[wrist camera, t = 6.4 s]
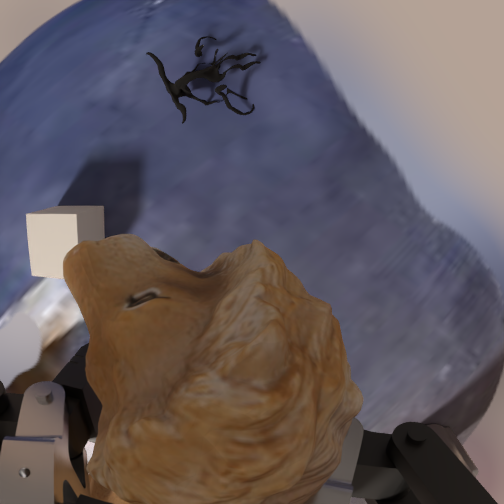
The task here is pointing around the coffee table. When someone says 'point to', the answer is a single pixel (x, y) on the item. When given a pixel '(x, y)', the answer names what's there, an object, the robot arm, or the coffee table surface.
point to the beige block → (60, 235)
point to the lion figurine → (209, 376)
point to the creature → (207, 73)
